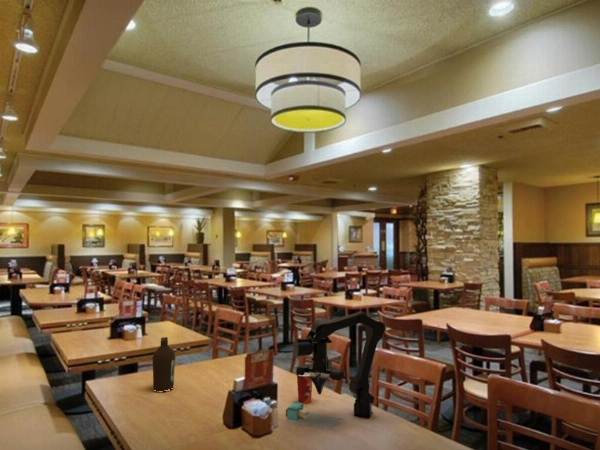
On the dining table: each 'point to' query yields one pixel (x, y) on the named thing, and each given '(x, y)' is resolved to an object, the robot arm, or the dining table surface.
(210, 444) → the dining table surface
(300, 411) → the long wooden beam
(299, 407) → the teal faceted block
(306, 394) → the paper cup
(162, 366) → the olive oil
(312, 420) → the mat
